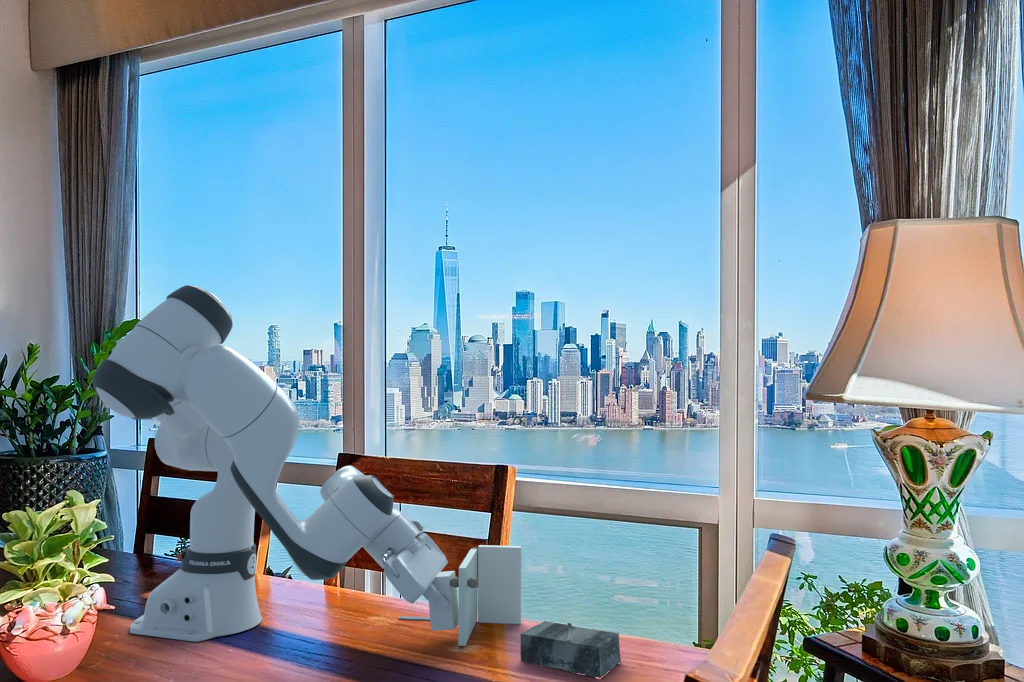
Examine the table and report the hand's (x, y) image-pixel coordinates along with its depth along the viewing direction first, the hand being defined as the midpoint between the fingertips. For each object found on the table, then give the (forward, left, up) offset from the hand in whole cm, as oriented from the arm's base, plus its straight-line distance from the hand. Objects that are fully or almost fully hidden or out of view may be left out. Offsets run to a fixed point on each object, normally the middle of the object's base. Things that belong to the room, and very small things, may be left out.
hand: (449, 601), depth 134 cm
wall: (0, +10, -7) cm, 12 cm away
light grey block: (-1, 0, -4) cm, 4 cm away
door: (+3, +4, -6) cm, 8 cm away
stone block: (+21, -7, -7) cm, 24 cm away
